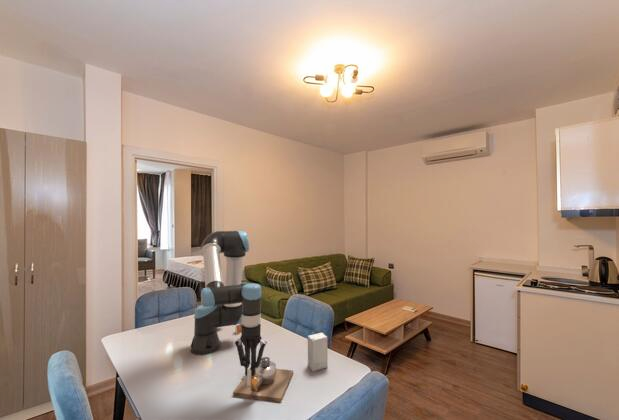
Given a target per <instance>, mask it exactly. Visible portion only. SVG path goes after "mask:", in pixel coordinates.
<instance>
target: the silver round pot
mask: <svg viewBox="0 0 619 420" xmlns="http://www.w3.org/2000/svg"><path fill="white" fill-rule="evenodd" d="M276 369H277V365H276V363H275V362H274V361H272V360H271V359H270V357H268V356H264V357H263V356H262V359H261V363H260V365H259V366H258V368H256V372H255V376H254V377H253V376H252V377H251V391H253V392H255V391H257V390H258V387H259V385H260V384H261V383H262V382H267V381H271V380H273V379H274V378H275V377H276Z"/></svg>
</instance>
